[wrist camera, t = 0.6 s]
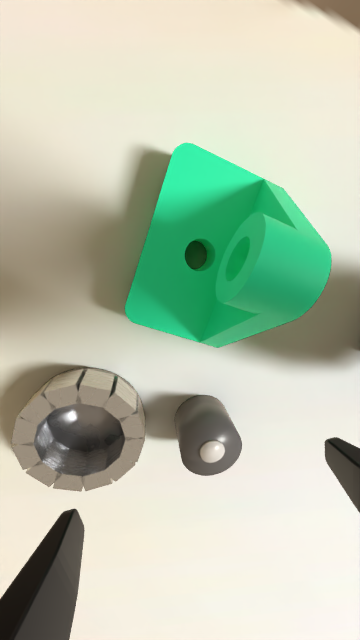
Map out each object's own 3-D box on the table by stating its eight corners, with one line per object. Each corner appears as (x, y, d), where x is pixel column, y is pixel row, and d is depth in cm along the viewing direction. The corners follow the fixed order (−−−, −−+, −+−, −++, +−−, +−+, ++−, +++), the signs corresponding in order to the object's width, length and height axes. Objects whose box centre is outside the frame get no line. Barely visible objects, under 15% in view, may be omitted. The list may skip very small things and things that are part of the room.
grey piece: (156, 381, 21) (158, 400, 18) (127, 467, 23) (125, 496, 20) (42, 356, 19) (25, 373, 16) (21, 452, 21) (2, 482, 18)
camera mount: (172, 153, 17) (212, 15, 7) (264, 197, 19) (398, 133, 9) (124, 310, 19) (103, 368, 10) (209, 336, 21) (266, 408, 11)
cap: (233, 400, 23) (252, 431, 19) (215, 443, 24) (229, 481, 20) (184, 389, 22) (193, 420, 18) (167, 435, 23) (173, 473, 19)
